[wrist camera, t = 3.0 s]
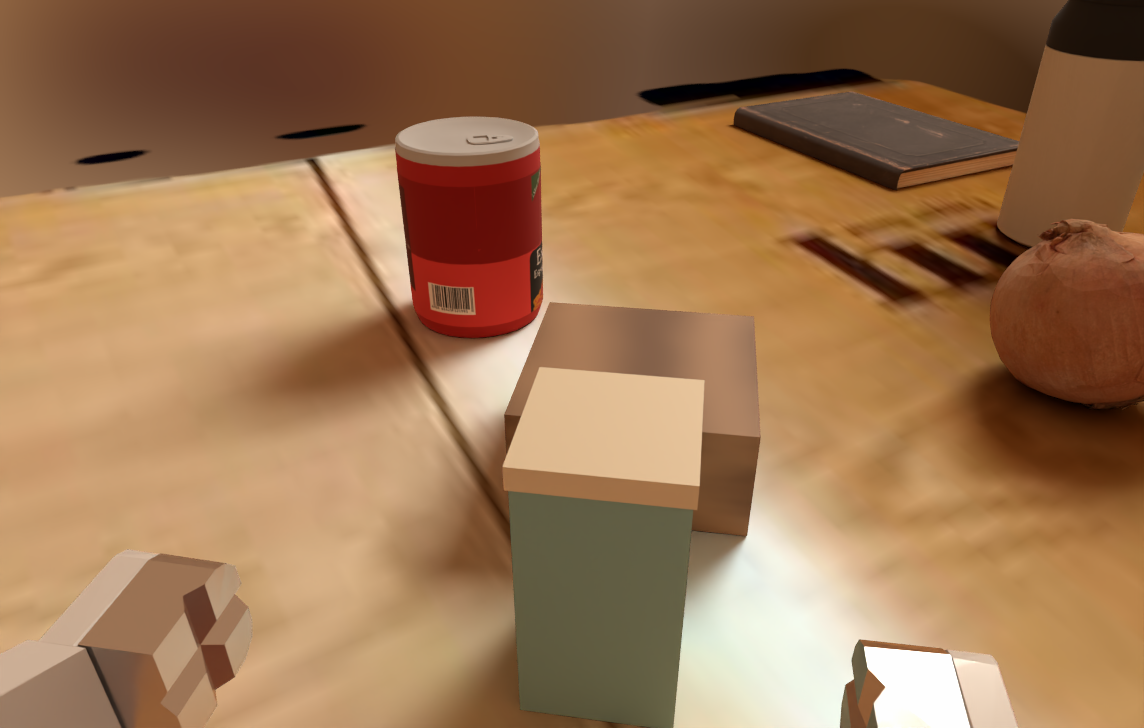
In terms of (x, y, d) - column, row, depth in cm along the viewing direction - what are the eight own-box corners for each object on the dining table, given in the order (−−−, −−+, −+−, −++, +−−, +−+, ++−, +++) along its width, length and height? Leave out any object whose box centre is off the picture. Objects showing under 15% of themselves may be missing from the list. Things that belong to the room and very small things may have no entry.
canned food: (563, 324, 50) (561, 142, 45) (435, 352, 48) (416, 162, 42) (516, 275, 56) (509, 109, 51) (399, 298, 54) (378, 125, 48)
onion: (978, 417, 47) (933, 248, 45) (1127, 357, 48) (1089, 188, 46) (1103, 465, 38) (1054, 256, 36) (1287, 390, 38) (1248, 180, 36)
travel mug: (1051, 264, 58) (1141, -23, 48) (972, 223, 64) (1039, -36, 55) (1143, 251, 60) (1247, -28, 50) (1057, 212, 66) (1135, -40, 57)
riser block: (509, 511, 36) (504, 414, 33) (551, 386, 44) (549, 302, 42) (747, 535, 35) (760, 437, 32) (743, 402, 43) (753, 316, 40)
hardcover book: (848, 112, 95) (852, 91, 94) (1023, 169, 77) (1030, 144, 76) (732, 130, 89) (734, 108, 87) (893, 196, 71) (898, 170, 70)
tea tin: (516, 712, 27) (502, 466, 22) (545, 594, 32) (539, 366, 27) (676, 733, 27) (699, 486, 22) (683, 610, 31) (704, 380, 26)
